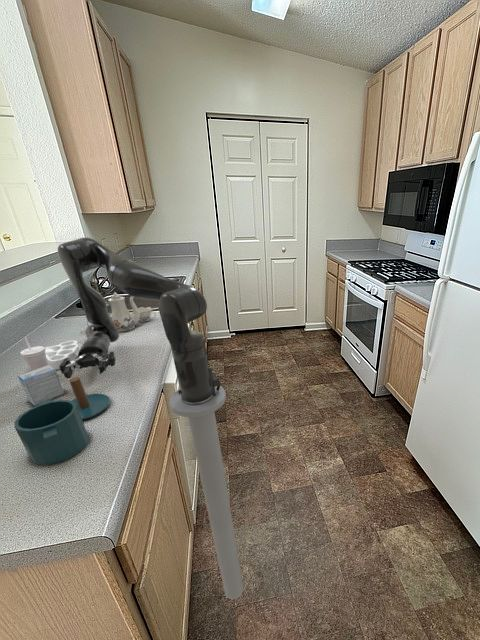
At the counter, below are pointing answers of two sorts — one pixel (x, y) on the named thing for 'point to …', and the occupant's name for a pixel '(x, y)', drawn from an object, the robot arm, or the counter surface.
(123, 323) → the chinaware
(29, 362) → the smoothie
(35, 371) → the medicine box
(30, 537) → the counter surface
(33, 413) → the cooking pot
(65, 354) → the white holed tray
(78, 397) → the lid
